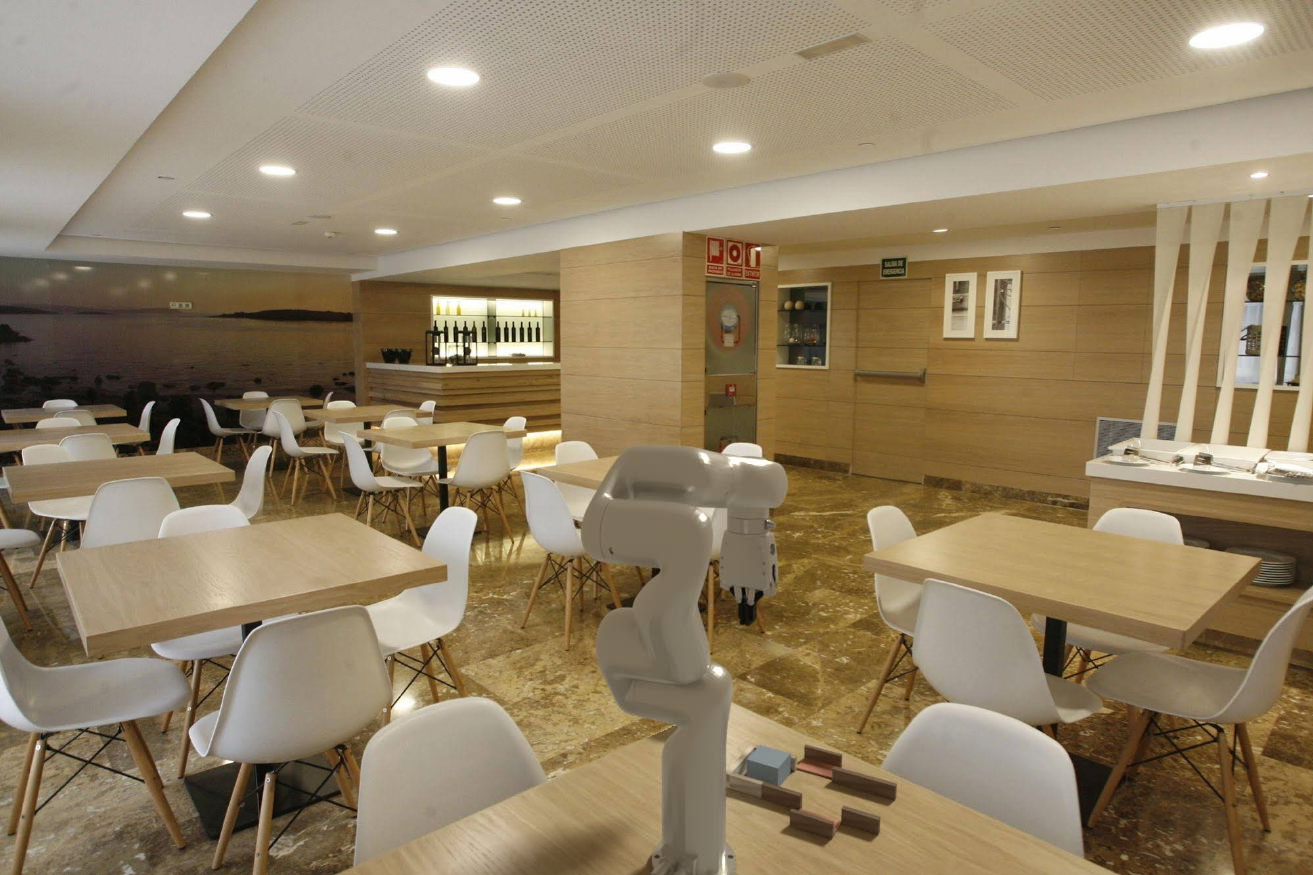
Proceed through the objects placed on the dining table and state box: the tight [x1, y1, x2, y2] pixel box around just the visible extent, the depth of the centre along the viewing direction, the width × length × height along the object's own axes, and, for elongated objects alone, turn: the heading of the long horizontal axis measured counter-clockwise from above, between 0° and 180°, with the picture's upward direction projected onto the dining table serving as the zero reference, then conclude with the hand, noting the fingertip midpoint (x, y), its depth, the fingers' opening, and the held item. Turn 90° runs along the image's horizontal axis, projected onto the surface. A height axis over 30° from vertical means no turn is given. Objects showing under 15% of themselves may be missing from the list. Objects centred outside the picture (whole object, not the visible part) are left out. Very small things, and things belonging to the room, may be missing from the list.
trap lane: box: [726, 743, 898, 840], centre depth 132 cm, size 22×27×2 cm
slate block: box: [746, 744, 792, 787], centre depth 137 cm, size 6×6×4 cm
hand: (747, 623), depth 139 cm, fingers closed
